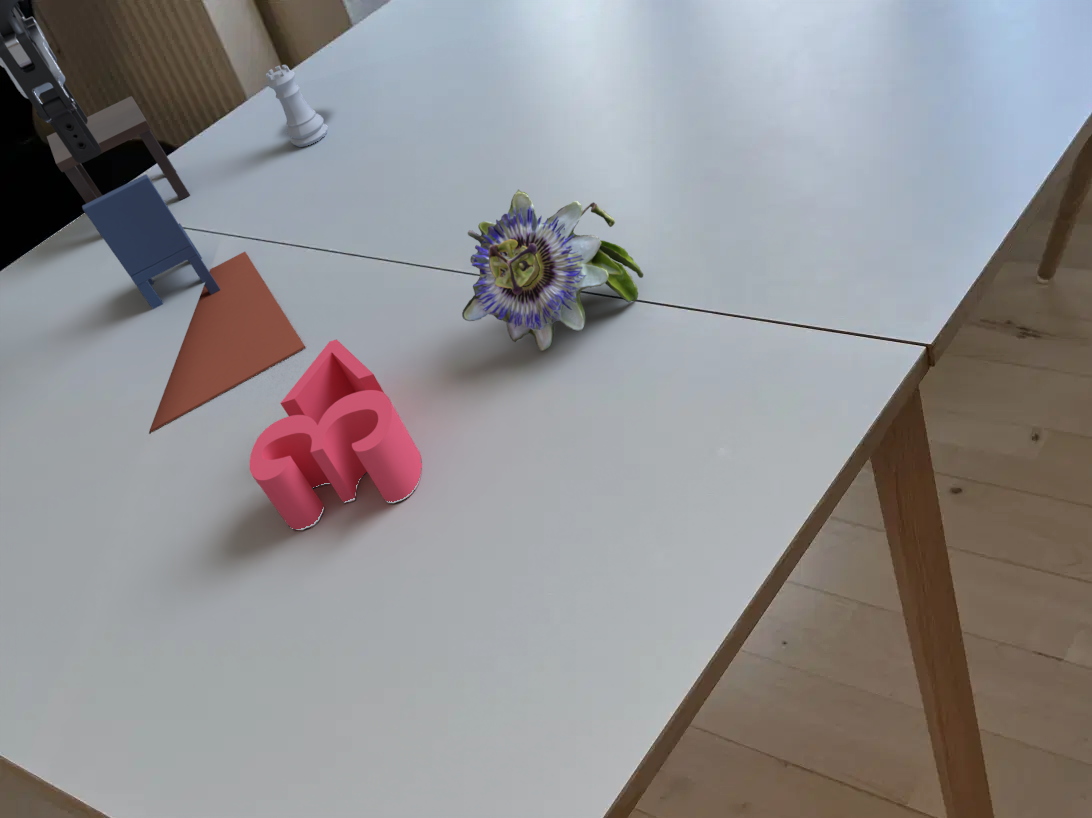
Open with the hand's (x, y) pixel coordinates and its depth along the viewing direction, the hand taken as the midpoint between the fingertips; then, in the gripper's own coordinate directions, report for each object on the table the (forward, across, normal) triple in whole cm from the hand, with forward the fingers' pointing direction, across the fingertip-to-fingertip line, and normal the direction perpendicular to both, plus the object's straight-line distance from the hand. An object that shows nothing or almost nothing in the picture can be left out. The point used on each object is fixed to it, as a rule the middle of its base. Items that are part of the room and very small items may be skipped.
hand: (83, 142), depth 92 cm
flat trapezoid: (+17, +6, 0) cm, 18 cm away
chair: (+17, -2, 0) cm, 17 cm away
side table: (+17, -29, 0) cm, 34 cm away
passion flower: (+17, +32, +25) cm, 44 cm away
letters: (+17, +34, +6) cm, 38 cm away
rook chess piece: (+17, -24, +20) cm, 35 cm away
